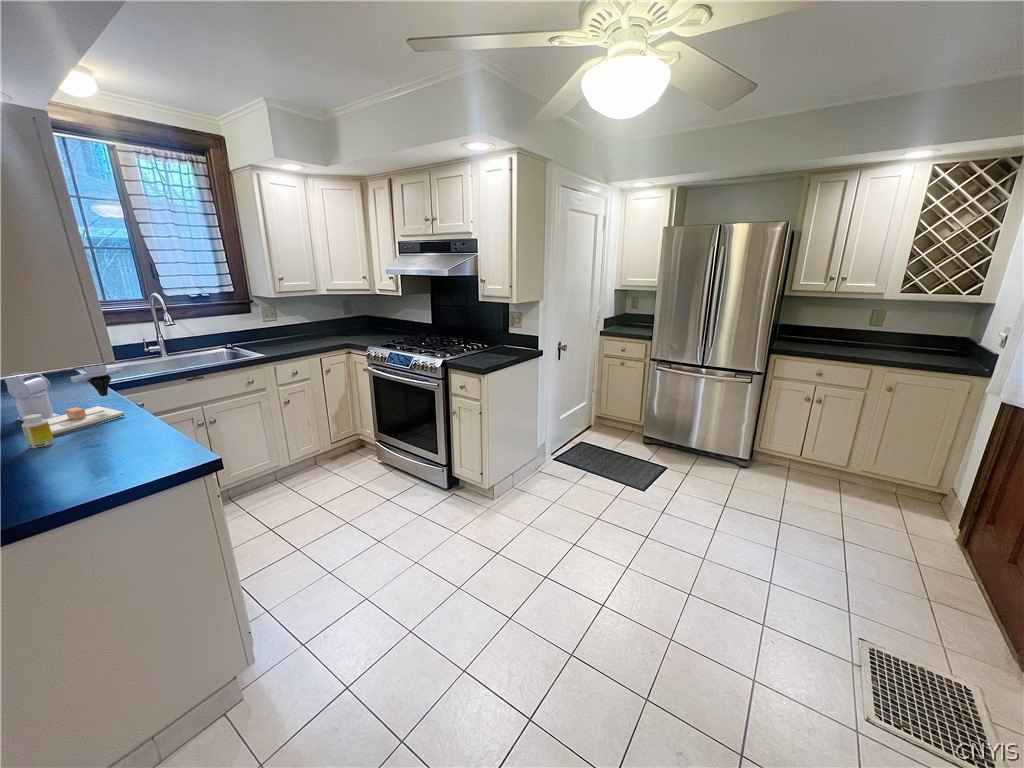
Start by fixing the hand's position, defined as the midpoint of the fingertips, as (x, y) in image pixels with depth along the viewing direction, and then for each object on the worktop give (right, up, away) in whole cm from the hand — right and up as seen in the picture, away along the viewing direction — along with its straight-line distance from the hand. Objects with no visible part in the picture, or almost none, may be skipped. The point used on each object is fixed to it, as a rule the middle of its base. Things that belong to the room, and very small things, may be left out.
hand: (103, 395), depth 155 cm
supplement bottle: (+4, -16, -23) cm, 28 cm away
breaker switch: (-3, -9, -6) cm, 11 cm away
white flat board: (-3, -10, -6) cm, 12 cm away
